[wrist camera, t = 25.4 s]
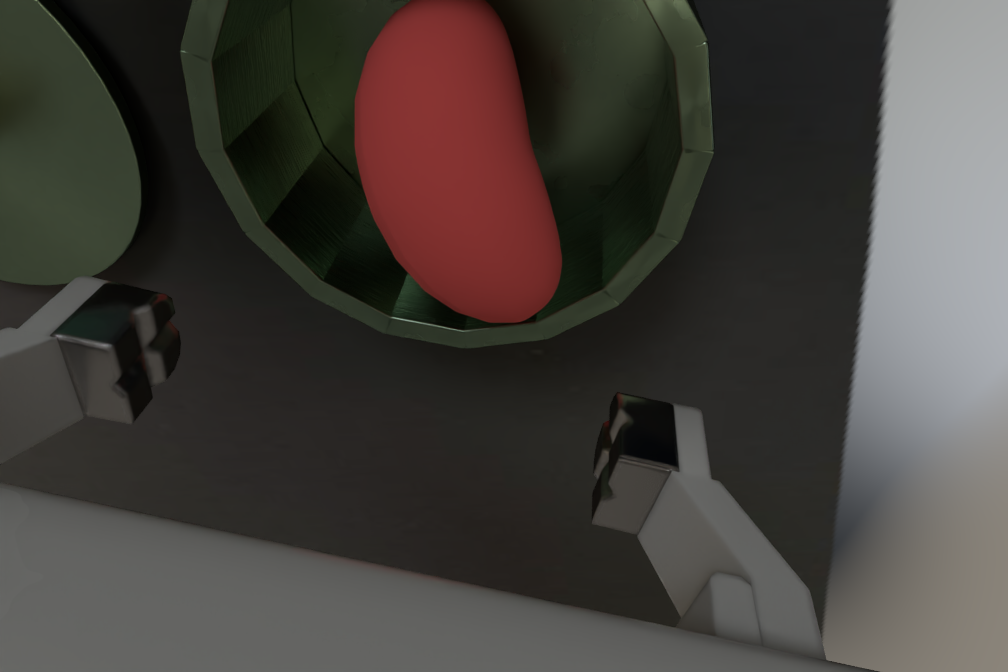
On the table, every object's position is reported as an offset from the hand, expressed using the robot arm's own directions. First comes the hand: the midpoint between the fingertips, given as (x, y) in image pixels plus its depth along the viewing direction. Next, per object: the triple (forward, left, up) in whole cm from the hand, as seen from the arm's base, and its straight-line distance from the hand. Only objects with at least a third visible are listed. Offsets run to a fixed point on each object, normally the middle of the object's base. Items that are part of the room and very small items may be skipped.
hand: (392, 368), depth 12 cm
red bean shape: (-1, 0, -11) cm, 11 cm away
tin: (+1, +1, -14) cm, 14 cm away
